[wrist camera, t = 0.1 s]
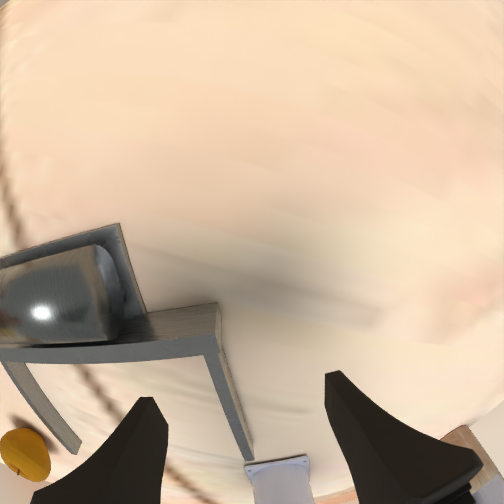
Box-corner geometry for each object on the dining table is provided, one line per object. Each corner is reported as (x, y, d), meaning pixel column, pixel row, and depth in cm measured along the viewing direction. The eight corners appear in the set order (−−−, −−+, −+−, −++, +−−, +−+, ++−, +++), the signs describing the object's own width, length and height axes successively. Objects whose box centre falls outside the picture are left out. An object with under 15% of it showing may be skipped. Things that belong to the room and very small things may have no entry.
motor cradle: (257, 442, 26) (262, 488, 20) (74, 440, 25) (60, 473, 19) (195, 205, 18) (178, 227, 12) (-26, 267, 17) (-64, 291, 11)
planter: (418, 457, 33) (461, 541, 12) (459, 421, 31) (514, 504, 10) (435, 458, 36) (474, 529, 14) (471, 427, 34) (518, 496, 12)
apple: (34, 447, 27) (18, 482, 18) (3, 411, 24) (-19, 448, 15) (69, 455, 27) (54, 497, 18) (35, 419, 24) (13, 463, 16)
